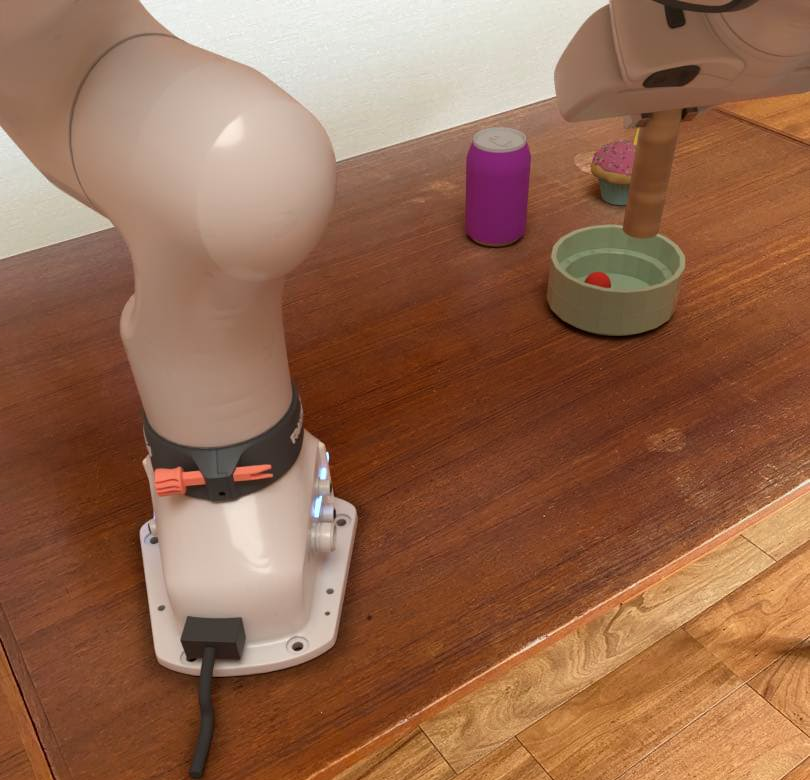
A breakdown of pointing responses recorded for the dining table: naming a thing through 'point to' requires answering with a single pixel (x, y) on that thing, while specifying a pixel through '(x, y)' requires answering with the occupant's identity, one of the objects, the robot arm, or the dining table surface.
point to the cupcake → (615, 169)
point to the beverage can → (497, 186)
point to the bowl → (614, 280)
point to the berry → (599, 279)
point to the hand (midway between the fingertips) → (657, 115)
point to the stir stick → (651, 174)
